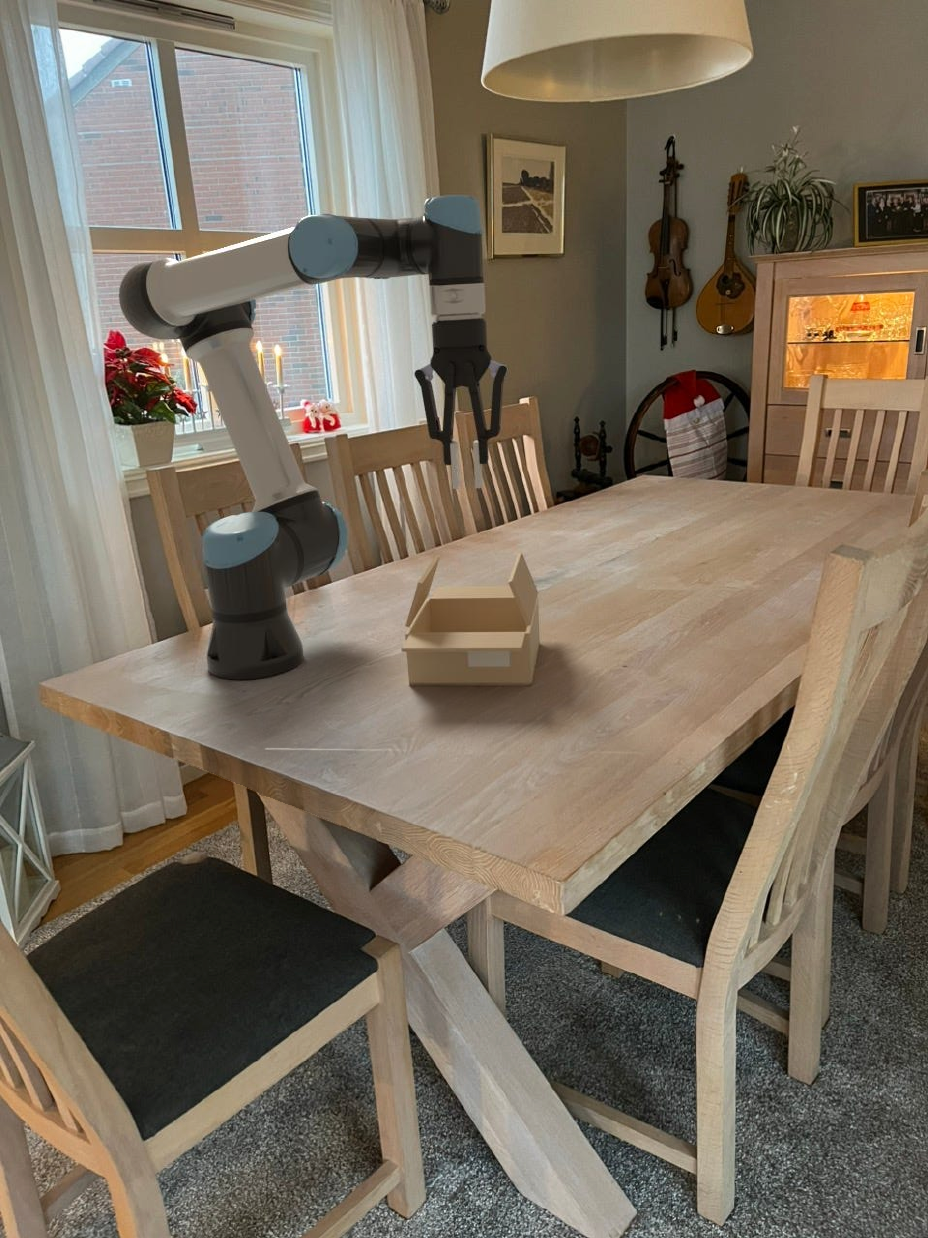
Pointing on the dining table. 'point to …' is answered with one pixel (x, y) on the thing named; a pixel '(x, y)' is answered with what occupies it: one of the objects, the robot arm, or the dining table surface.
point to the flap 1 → (422, 590)
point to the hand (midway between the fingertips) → (467, 486)
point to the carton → (472, 639)
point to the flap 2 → (523, 589)
